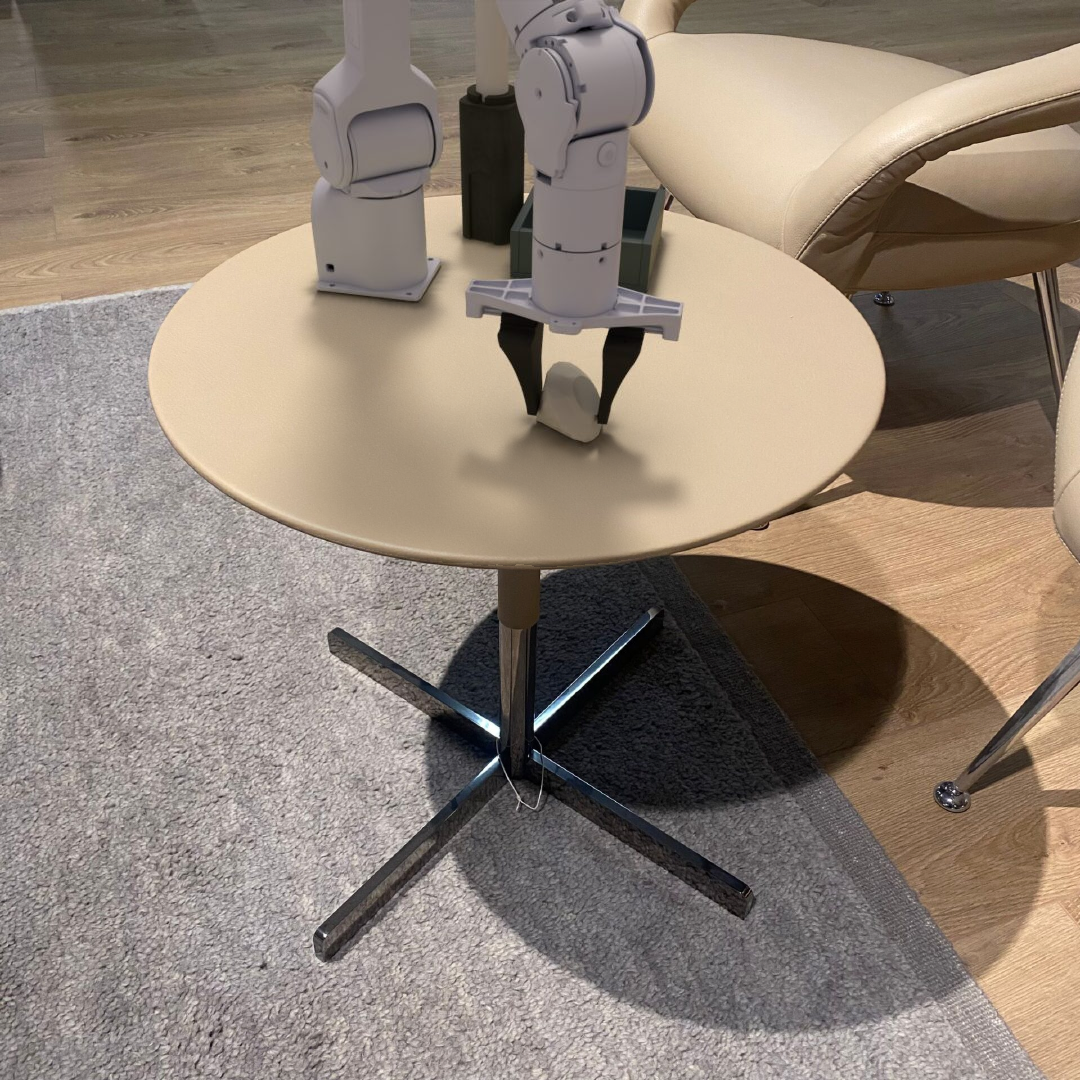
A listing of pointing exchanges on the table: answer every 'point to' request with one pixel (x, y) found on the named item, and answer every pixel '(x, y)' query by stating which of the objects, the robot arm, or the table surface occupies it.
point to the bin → (635, 244)
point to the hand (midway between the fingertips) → (568, 412)
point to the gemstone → (570, 402)
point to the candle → (491, 136)
